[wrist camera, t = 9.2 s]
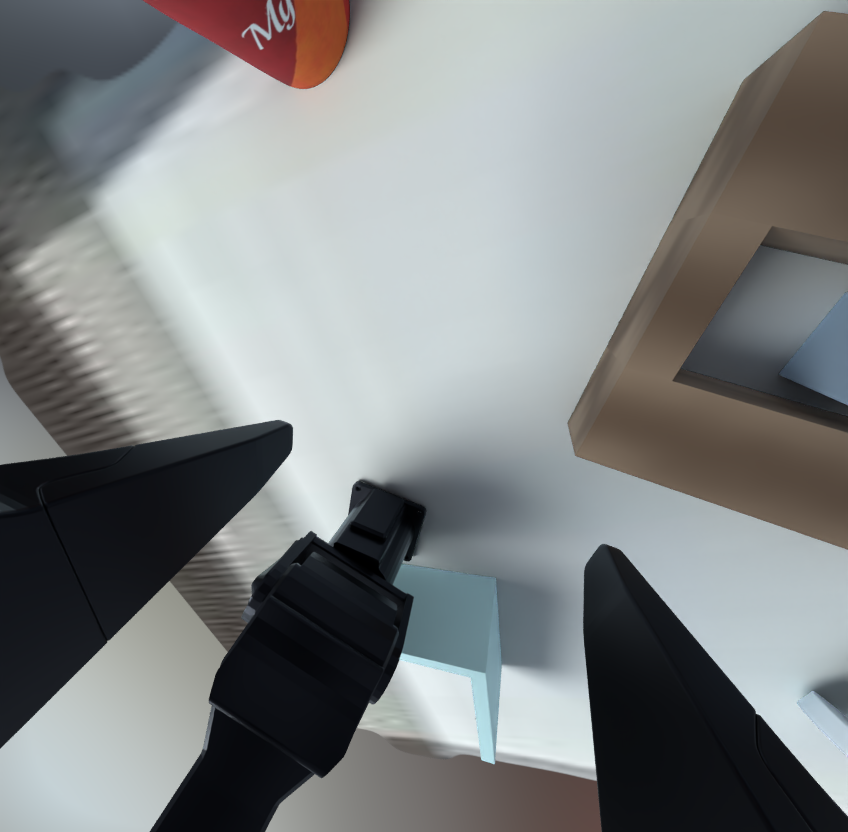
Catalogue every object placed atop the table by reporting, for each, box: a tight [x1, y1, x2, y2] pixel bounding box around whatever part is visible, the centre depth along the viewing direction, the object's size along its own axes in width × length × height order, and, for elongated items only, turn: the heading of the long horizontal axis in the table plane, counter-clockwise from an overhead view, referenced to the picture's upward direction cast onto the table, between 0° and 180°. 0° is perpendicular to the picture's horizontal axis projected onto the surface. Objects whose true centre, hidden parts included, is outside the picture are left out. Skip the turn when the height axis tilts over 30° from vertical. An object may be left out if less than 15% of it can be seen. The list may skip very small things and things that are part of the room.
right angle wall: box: [393, 564, 502, 764], centre depth 29 cm, size 12×12×8 cm
